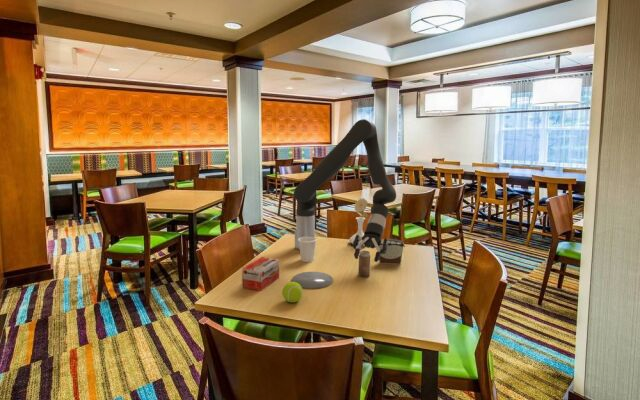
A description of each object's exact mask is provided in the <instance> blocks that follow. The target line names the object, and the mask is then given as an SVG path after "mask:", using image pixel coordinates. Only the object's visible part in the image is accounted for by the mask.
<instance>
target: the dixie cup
mask: <svg viewBox="0 0 640 400" xmlns="http://www.w3.org/2000/svg"><path fill="white" fill-rule="evenodd" d="M298 241H299V247H300V250H299V253H300V260H301V262H304V263H311V262H313V261H314V259H315V258H314V257H315V253H316V252H315V251H316V245H317V244H316V243H317V238H314V237H301V238H299V239H298Z"/></svg>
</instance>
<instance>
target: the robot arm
mask: <svg viewBox="0 0 640 400" xmlns="http://www.w3.org/2000/svg"><path fill="white" fill-rule="evenodd" d="M378 139H379V138H378V132H377V126H376V125H375V123H374V122H372V121H370V120H368V119H366V118H362V119H360V120H357V121H356V122H355V123H354V124H353V125H352V127H351V128H350V130H348V132H347V133H346V135H345V136H344V137H343V138H342V140H340V142H338V143H337V144H336V145H335V146H334V147H333V149H331V151H330V152H328V154H327V155H325V157H323V159H322V160H321V161H320V162H319V164H317V166H316V167H315V168H314V169H313V171H312V172H311V173H310V174H309V175H308V176H307V177H306V178H305V179H304V180H303V181H301V182H300V183H299V184H297V185H296V187H295V188H294V190H293V196H294V197H293V198H294V199H295V200H296V201H297V202H298V206H297V208H296V210H295V211H296V212H295V215H296V217H295V219H296V222H295V223H296V225H295V227H296V228H295V229H294V248H295V249H297V250H299V251H300V247H299V241H298V239H299V238H301V237H314V238H315V237H316V236H315V231H316V230H315V228H316V227H315V226H316V224H315V223H316V217H315V216H316V215H315V214H316V209H317V190H318V189H319V188H320V187H321V186H322V185H323V184H324V183H326V182H327V181H328V180H330V179H332V178H333V177H334V176H335V175H336V174H337V173H338V172H339V171H340V170H342V168H343V167H344V166H345V165H346V164H347V162H348V160H349V159H350V157H351V155H352V153H353V152H354V150H355V149H356V148H357V147H358V146H360V144H361V143H363V146H364V148H365V151H366V156H367V166H368V171H369V174H370V179H371V181H372V184H373V185H375V186H376V185H377V186H380V187H381V188H380V189H378V190H376V191H375V192H374V194H373V195H372V210H371V212H370V216H369V218H368V220H367V224H366V227H365V231H364V232H363V233H364V236H363V237H361V236H359V235H356V237H355V240H354V242H353V243H352V244H351V247H352V248H353V250H354V254H353V257H354V258H355V260H359V255H360V251H362V250H363V249H365V248H368V249H369V248H370V249H375V250H376V253H375V254H374V260H373V261H374V262H375V263H378V262H379V258H380V255H381V254H386V250H387V245H388V241H387V239H388V238H383V239H382V237H383V234H384V230H385V228H386V221H387V219H388V214H389V208H388V207H387V206H386V204H390V203H391V204H392V203H393V202H394V201H396V199H397V192H396V189H395V187H394V186H393V184H392V183H391V181H390V179H389V177H388V175H387V172H386V169H385V165H384V162H383V158H382V155H381V152H380V147H379V140H378ZM361 240H363V241H362V242H360V241H361ZM359 242H360V244H359V245H358V243H359ZM381 242H382V244H383V247H382V249H381V250H380V249H379V247H378V245H379V244H380V243H381ZM363 244H364V245H363Z"/></svg>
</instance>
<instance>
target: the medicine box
mask: <svg viewBox="0 0 640 400" xmlns="http://www.w3.org/2000/svg"><path fill="white" fill-rule="evenodd" d="M279 279H280V259H277V258H271V257H263V256H262V257H259V258H258V259H256V260H255V261H253V262H251V263H249V264H248V265H246V266H244V267H242V268H241V281H242V282H241V283H242V285H241V286H242V288H243V289H247V290H255V291H258V292H262V291H263V290H264V289H266V288H267V287H269V286H271V284H273V283H274V282H276V281H277V280H279Z"/></svg>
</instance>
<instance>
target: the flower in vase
mask: <svg viewBox="0 0 640 400" xmlns="http://www.w3.org/2000/svg"><path fill="white" fill-rule="evenodd" d="M367 207H368V201H367V199H365V198H364V197H362V198H360V199H359V198H358V199H357V200H356V202H355V203H354V210H355V212H356V213H357V214H358V215H359V217H357V216H356V217H355V220H356V221H357V232H356V233H355V234H353V235H352V236H350V238H349V240H348V241H349V243H351V244H353V242H354V240H355V237H356V235H359V236H361V237H363V236H364V233H365V232H364V230H363V225H364V221H365V220H366V218H368V217H369V216H368V214H367V212H365V209H367ZM360 212H363V213H360ZM362 241H363V240H361V241H360V242H362ZM360 242H359V243H358V245H359V244H360ZM363 245H364V244H363Z"/></svg>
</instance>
